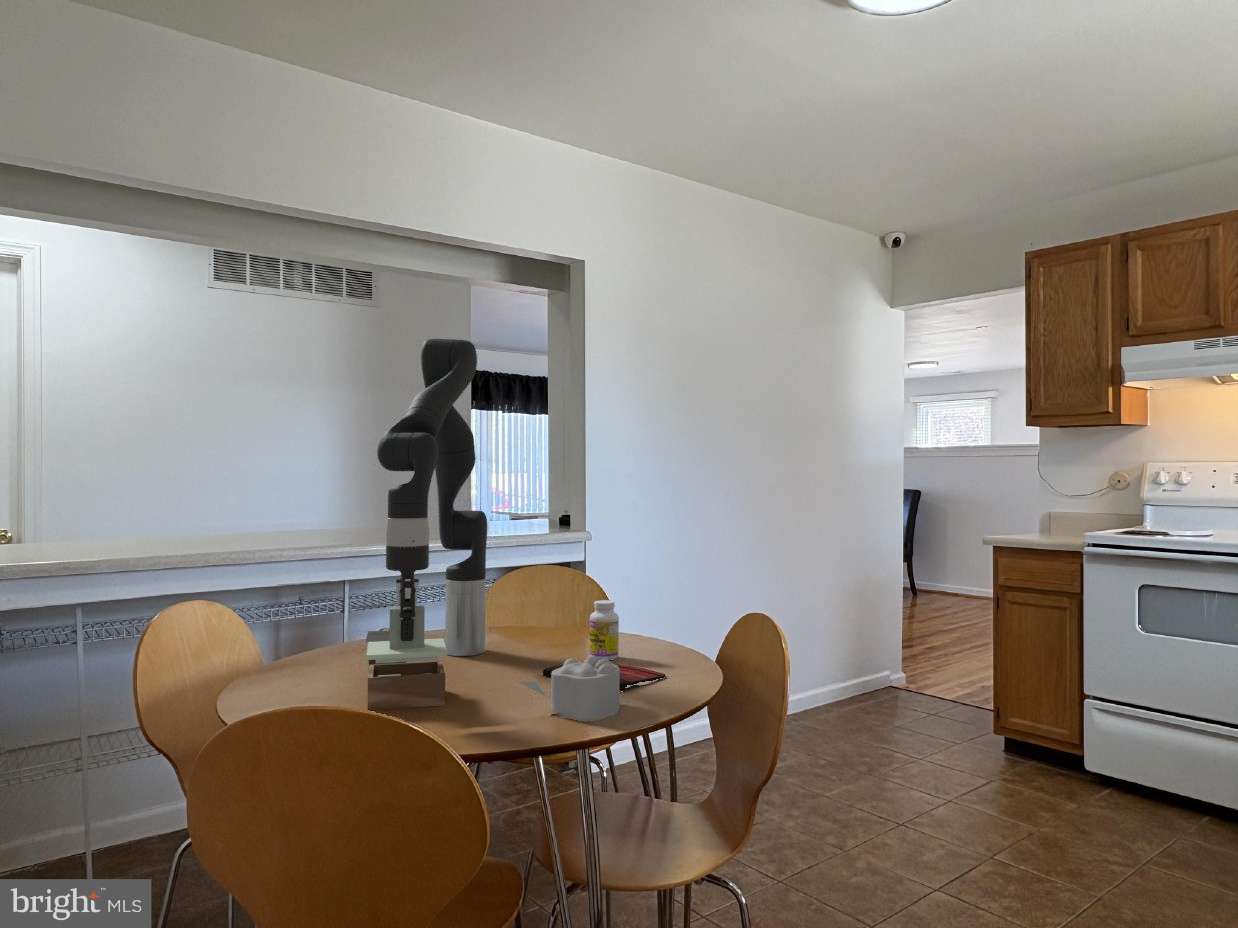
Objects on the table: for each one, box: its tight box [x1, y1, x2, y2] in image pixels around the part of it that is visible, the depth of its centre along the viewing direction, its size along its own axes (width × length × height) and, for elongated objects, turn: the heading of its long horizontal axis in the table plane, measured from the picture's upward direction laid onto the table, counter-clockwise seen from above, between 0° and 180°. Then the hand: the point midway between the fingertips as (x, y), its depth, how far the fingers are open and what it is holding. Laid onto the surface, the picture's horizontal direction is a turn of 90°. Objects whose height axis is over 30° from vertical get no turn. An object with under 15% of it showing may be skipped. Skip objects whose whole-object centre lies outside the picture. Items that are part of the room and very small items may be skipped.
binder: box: [542, 660, 667, 693], centre depth 167 cm, size 16×2×21 cm
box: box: [367, 660, 446, 711], centre depth 146 cm, size 11×13×6 cm
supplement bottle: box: [588, 599, 620, 660], centre depth 185 cm, size 7×7×13 cm
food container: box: [365, 627, 407, 667], centre depth 168 cm, size 12×6×10 cm, turn 168°
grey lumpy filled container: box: [550, 656, 620, 723], centre depth 143 cm, size 10×13×9 cm
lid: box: [365, 605, 448, 663], centre depth 146 cm, size 12×14×9 cm
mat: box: [519, 680, 547, 697], centre depth 153 cm, size 14×14×1 cm
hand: (406, 638), depth 146 cm, fingers closed on lid, 3 cm apart
